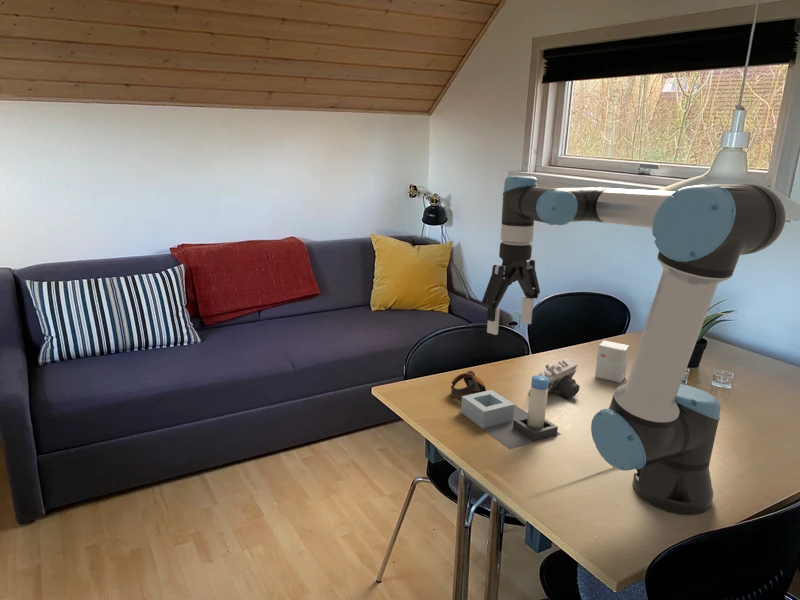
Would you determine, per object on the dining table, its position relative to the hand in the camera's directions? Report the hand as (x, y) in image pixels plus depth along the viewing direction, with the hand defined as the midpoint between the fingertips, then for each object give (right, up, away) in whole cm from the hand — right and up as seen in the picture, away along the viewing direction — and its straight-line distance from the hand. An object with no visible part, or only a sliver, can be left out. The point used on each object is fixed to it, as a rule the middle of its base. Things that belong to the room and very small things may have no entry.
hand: (509, 328), depth 145 cm
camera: (+18, -20, +22) cm, 35 cm away
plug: (+6, -25, -1) cm, 26 cm away
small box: (+37, -17, +36) cm, 54 cm away
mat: (0, -25, +4) cm, 25 cm away
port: (-5, -23, +6) cm, 24 cm away
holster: (+6, -25, -1) cm, 26 cm away
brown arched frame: (-8, -20, +19) cm, 29 cm away
